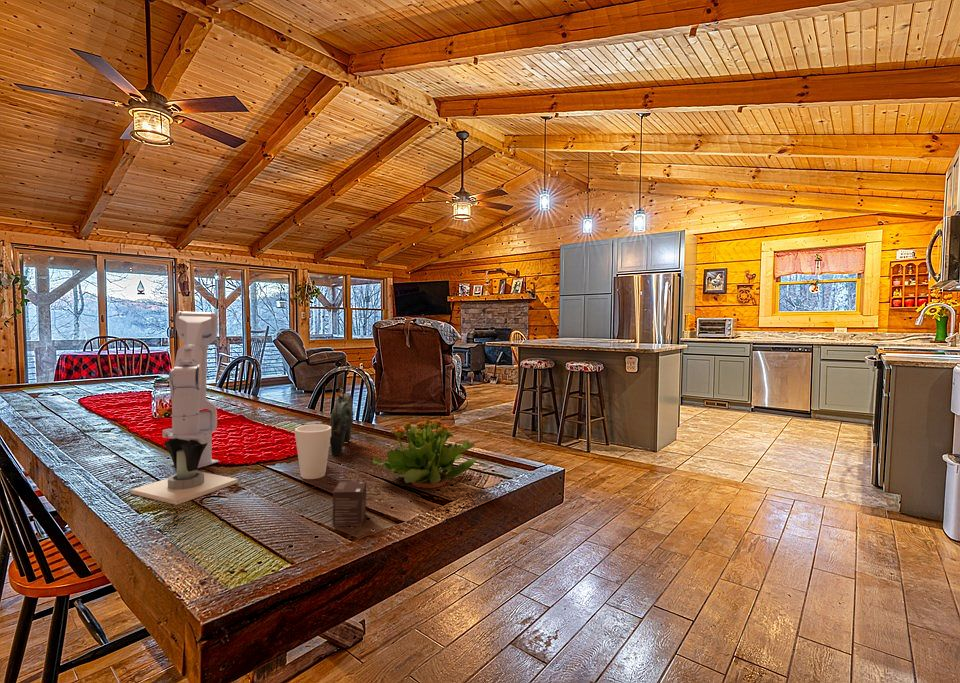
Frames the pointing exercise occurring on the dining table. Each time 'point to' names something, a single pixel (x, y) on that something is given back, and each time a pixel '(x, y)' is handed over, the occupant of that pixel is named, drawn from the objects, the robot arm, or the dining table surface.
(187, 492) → the socket plate
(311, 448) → the foam cup
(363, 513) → the box
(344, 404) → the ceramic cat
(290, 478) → the dining table surface
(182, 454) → the grey rounded piece
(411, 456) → the potted flower
